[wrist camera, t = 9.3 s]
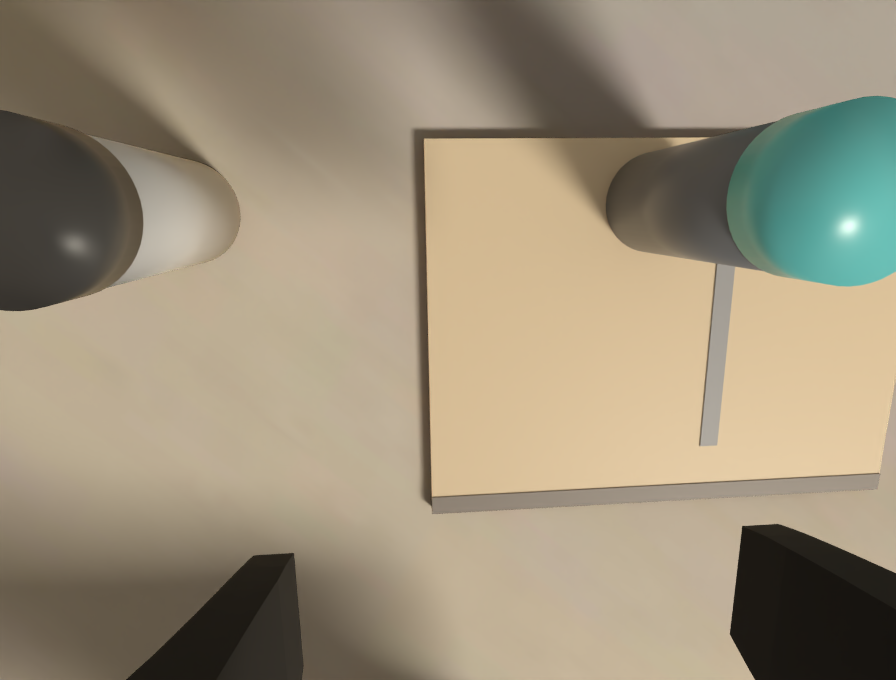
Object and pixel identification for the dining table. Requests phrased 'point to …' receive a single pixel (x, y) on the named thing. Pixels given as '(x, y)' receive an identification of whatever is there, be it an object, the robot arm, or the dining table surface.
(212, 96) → the dining table surface
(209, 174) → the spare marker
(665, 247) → the cylinder
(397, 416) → the dining table surface
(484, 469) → the notepad
